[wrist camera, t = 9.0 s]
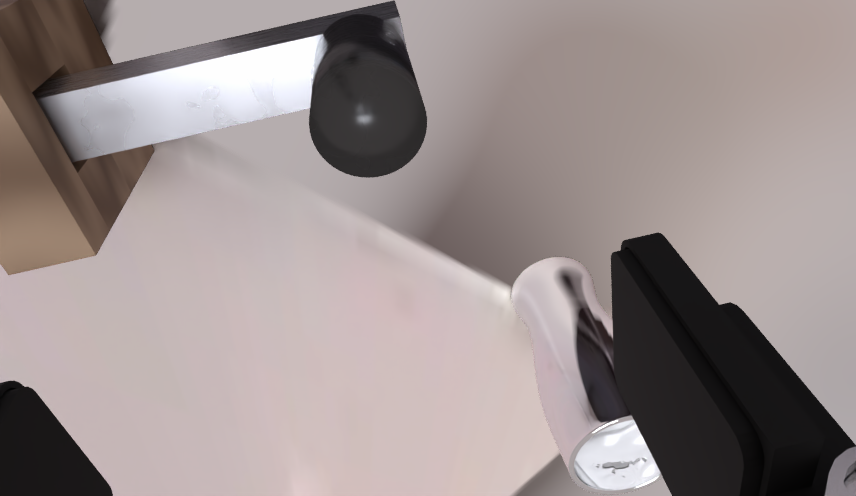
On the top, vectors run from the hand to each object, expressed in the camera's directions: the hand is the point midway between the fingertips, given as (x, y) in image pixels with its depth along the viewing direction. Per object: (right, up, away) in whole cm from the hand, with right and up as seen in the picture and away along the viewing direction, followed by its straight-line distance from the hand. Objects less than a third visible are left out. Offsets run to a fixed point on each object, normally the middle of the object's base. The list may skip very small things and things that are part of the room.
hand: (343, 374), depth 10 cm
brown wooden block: (-18, +11, +24) cm, 32 cm away
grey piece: (-9, +10, +20) cm, 24 cm away
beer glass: (+10, -1, +37) cm, 38 cm away
